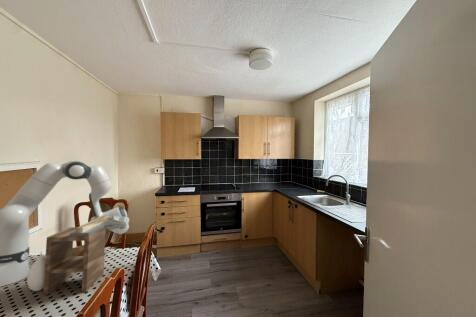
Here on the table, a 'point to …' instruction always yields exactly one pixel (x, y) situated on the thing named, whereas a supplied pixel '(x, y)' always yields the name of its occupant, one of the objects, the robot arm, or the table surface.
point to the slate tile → (88, 231)
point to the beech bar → (91, 224)
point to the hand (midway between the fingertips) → (103, 217)
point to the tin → (78, 251)
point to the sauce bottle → (37, 274)
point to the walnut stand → (73, 259)
